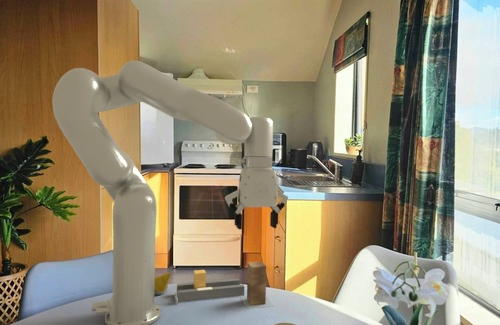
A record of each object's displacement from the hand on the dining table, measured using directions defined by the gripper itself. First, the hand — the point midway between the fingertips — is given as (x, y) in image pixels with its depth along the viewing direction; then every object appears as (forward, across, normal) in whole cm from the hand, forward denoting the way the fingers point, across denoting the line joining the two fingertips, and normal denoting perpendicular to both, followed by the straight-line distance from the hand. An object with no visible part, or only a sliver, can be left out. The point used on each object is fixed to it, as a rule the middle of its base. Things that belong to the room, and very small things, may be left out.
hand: (256, 227), depth 88 cm
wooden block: (+20, 0, 0) cm, 20 cm away
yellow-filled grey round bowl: (+21, -24, +13) cm, 34 cm away
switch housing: (+20, -11, +8) cm, 24 cm away
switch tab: (+19, -14, +8) cm, 24 cm away
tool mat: (+20, 0, 0) cm, 20 cm away
